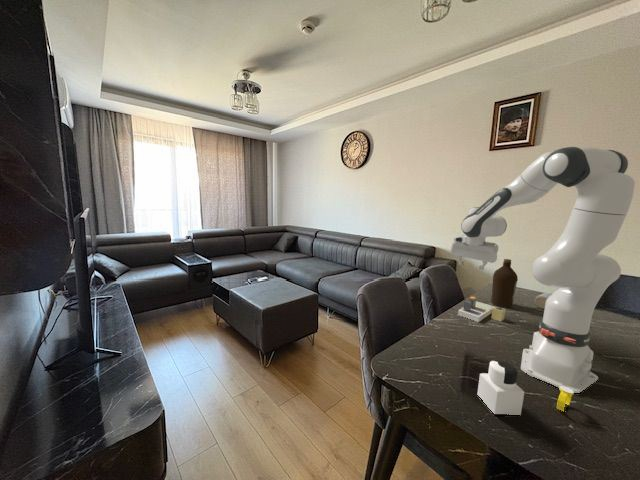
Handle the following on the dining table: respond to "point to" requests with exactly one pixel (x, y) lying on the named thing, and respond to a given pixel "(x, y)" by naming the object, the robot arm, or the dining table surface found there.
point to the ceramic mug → (541, 300)
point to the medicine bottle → (501, 389)
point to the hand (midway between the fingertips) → (470, 267)
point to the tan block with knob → (498, 313)
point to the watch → (564, 397)
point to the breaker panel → (477, 312)
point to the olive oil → (504, 285)
